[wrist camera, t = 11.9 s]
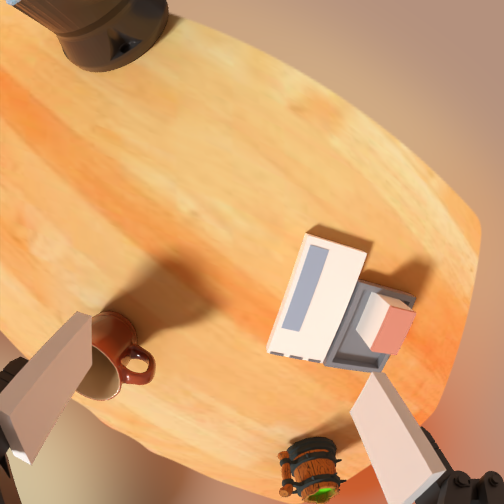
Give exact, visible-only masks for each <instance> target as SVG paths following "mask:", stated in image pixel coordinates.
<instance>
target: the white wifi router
mask: <svg viewBox="0 0 504 504" xmlns="http://www.w3.org/2000/svg"><path fill="white" fill-rule="evenodd" d="M366 255H367V253H366V252H364V251H362V250H359V249H356V248H353V247H350V246H347V245H343V244H340V243H337V242H334V241H331V240H327V239H324V238H321V237H318V236H314V235H311V234H308V233H305V235H304V238H303V241H302V244H301V248H300V251H299V254H298V257H297V260H296V263H295V266H294V269H293V272H292V275H291V278H290V280H289V283H288V286H287V289H286V292H285V295H284V298H283V301H282V304H281V306H280V309H279V312H278V315H277V318H276V320H275V323H274V326H273V329H272V332H271V334H270V337H269V340H268V343H267V345H266V349H267V353H270V354H274V355H279V356H286V357H289V358H295V359H300V360H308V361H311V362H317V363H323V361H324V359H325V357H326V354H327V352H328V350H329V348H330V346H331V343H332V341H333V339H334V337H335V334H336V332H337V330H338V327H339V325H340V323H341V320H342V318H343V315H344V313H345V311H346V308H347V306H348V303H349V301H350V298H351V296H352V293H353V291H354V288H355V285H356V283H357V280H358V277H359V275H360V272H361V269H362V267H363V264H364V261H365V258H366Z"/></svg>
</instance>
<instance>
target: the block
mask: <svg viewBox="0 0 504 504" xmlns="http://www.w3.org/2000/svg"><path fill="white" fill-rule="evenodd" d="M415 316H416V312H414V311H413V310H412V309H411V308H409V307H408V306H407V305H406V304H404V303H403V302H402V301H401V300H400V299H396V298H392V297H389V296H385V295H381V294H377V293H374V292H371V294H370V297H369V299H368V302H367V304H366V307H365V309H364V311H363V314H362V316H361V318H360V321H359V323H358V325H357V328H356V331H357V332H358V333H359V335H360V336H361V337H362V339H363V340H364V341H365V343H366V344H367V346H368V347H369V348H370V350H371V351H372V352H379V353H385V354H392V355H397V353H398V351H399V349H400V347H401V345H402V343H403V341H404V339H405V337H406V335H407V333H408V331H409V329H410V327H411V324H412V322H413V320H414V318H415Z"/></svg>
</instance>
